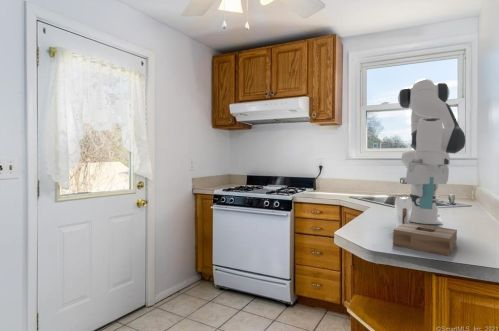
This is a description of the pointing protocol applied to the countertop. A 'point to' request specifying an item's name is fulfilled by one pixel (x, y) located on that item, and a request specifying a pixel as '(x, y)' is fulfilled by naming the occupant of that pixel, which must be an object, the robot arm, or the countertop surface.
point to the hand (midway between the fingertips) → (426, 196)
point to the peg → (427, 195)
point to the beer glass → (403, 210)
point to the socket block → (425, 238)
